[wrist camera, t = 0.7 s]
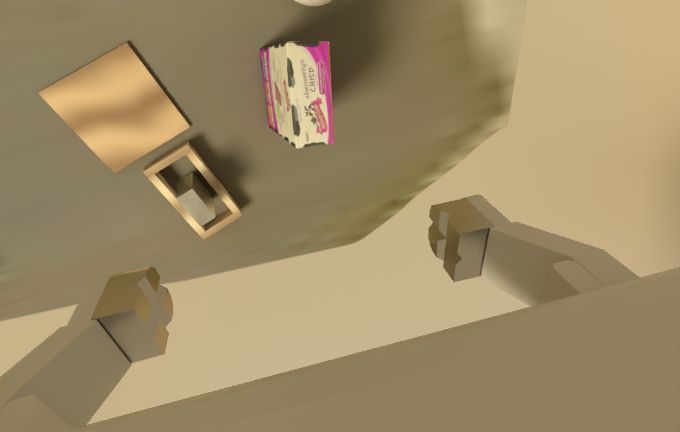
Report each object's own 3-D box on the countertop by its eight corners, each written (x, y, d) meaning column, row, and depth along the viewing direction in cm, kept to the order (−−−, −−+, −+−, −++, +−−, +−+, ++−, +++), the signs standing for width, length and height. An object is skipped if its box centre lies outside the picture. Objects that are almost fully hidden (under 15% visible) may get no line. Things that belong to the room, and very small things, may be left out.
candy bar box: (300, 124, 55) (336, 146, 41) (268, 127, 54) (294, 151, 40) (293, 45, 51) (331, 39, 37) (258, 47, 49) (284, 41, 35)
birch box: (145, 167, 50) (142, 172, 48) (187, 140, 51) (187, 144, 48) (203, 233, 56) (203, 239, 54) (240, 208, 57) (242, 214, 55)
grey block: (178, 180, 52) (175, 198, 45) (192, 172, 52) (192, 188, 46) (199, 206, 55) (200, 226, 48) (213, 197, 55) (215, 217, 48)
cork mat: (39, 92, 43) (37, 92, 42) (127, 42, 44) (126, 42, 43) (115, 172, 49) (114, 173, 48) (190, 126, 50) (190, 126, 49)
